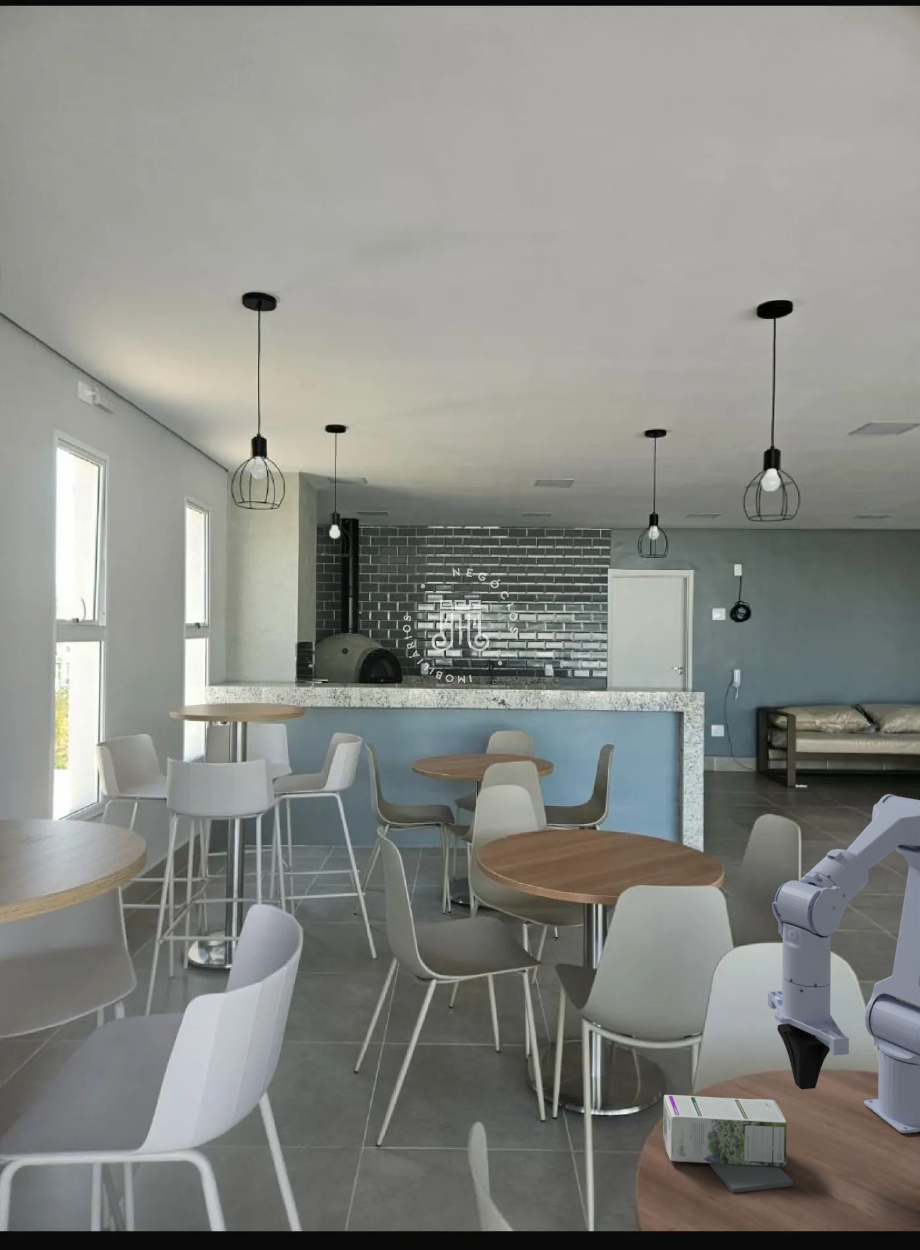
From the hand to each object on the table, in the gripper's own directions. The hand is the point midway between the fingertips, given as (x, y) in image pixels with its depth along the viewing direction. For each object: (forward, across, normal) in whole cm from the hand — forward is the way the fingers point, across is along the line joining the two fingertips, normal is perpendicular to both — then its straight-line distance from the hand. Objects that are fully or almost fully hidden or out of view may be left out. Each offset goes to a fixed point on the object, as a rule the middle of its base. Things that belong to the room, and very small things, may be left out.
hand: (805, 1086), depth 111 cm
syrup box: (+6, 0, -3) cm, 7 cm away
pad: (+9, 0, -9) cm, 13 cm away
